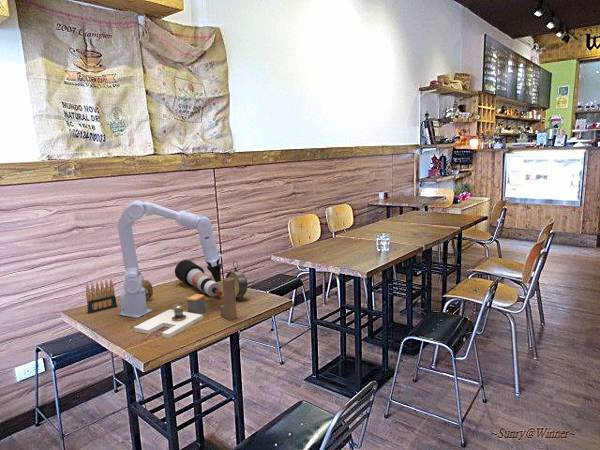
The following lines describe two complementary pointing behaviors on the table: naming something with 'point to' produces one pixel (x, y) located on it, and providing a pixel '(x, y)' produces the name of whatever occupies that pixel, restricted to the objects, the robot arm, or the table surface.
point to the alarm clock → (238, 282)
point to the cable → (196, 278)
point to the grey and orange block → (196, 304)
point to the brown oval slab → (147, 289)
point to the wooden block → (228, 299)
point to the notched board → (168, 323)
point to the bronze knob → (178, 312)
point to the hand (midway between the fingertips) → (217, 278)
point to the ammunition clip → (100, 297)
